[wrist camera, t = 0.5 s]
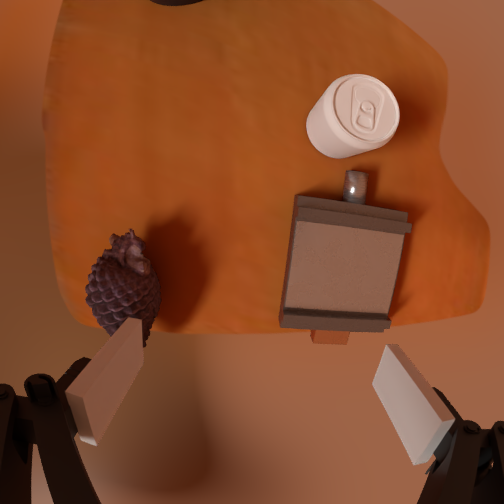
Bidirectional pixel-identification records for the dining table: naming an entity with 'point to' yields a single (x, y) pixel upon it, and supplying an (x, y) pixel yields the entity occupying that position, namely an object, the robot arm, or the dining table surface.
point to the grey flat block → (341, 264)
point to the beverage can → (353, 117)
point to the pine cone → (124, 286)
